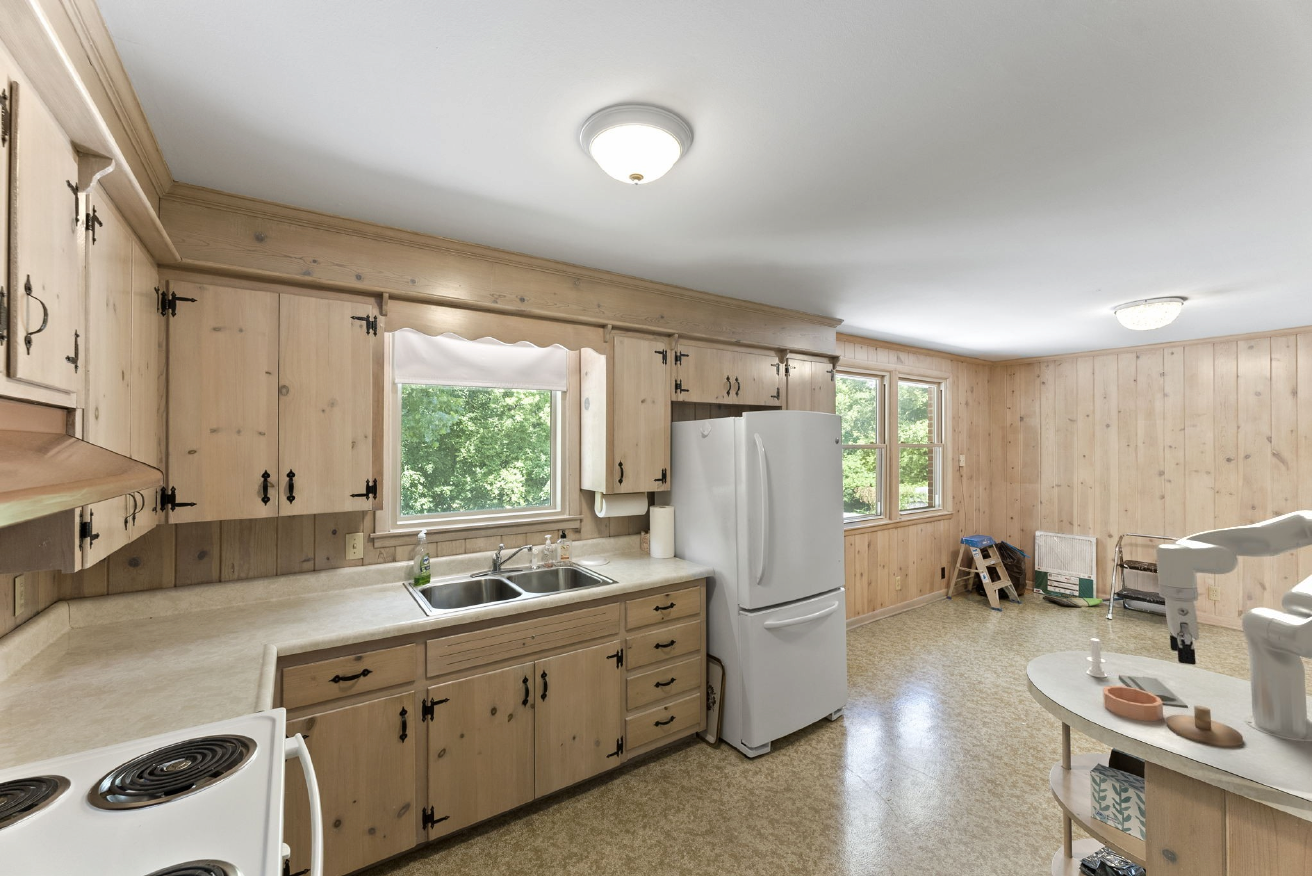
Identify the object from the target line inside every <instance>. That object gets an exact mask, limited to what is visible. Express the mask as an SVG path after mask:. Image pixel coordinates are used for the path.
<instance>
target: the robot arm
mask: <svg viewBox="0 0 1312 876" xmlns="http://www.w3.org/2000/svg"><path fill="white" fill-rule="evenodd" d="M1309 546H1312V510H1311V509H1307V510H1305V509H1304V510H1296V511H1293V512H1290V513H1286V514H1282V515H1280V516H1277V517H1274V518H1271V519H1267V520H1264V521H1260V522H1257V523H1253V524H1249V525H1244V526H1243V525H1242V526H1237V527H1235V526H1234V527H1228V528H1221V529H1214V530H1207V531H1203V532H1199V533H1195V534H1192V535H1190V536H1186V537H1183V538H1181V539H1180V538H1179V539H1178V540H1176V541H1175V542H1174V543H1167V544H1166V543H1163V544H1160V545H1158V546H1157V547H1156V548H1155V554H1156V566H1157V567H1156V568H1157V570H1156V571H1157V580H1158V582H1157V583H1158V594H1159V595H1158V596H1159V597H1161V598H1163V599H1164V602H1165V603H1164V604H1165V614H1166V615H1165V616H1166V624H1167V628H1168V631H1169V641H1170V642H1169V645H1170V650H1171V651H1173V652H1177V661H1178V663H1180V664H1185V665H1186V664H1187V665H1196V664H1197V662H1196V650H1195V649H1196V648H1195V645H1194V640H1195V641H1199V639H1200V635H1199V627H1198V626H1199V625H1198V616H1197V610H1196V605H1195V602H1196V601H1197V602H1198V600H1199V593H1198V591H1199V590H1198V579H1197V578H1198V576H1197V574H1210V575H1225V574H1229V573H1232V572H1234V571H1235V570H1236V569H1237V567H1238V565H1239V558H1238V557H1249V558H1250V557H1251V558H1260V557H1261V558H1262V557H1264V558H1265V557H1275V556H1278V555H1281V554H1285V553H1288V552H1291V551H1295V550H1298V549H1301V548H1304V547H1309ZM1281 606H1282V607H1283V609H1284V610H1285V611H1283V610H1279V609H1276V608H1271V607H1254V608H1252V609H1249V610H1248V611H1246V612H1245V613H1244V615H1243V617H1242V619H1241V624H1242V625H1241V627H1242V630H1243V634H1244V637H1245V640H1246V643H1247V647H1248V648H1247V649H1248V657H1249V673H1250V674H1249V675H1250V693H1251V709H1252V711H1251V713H1252V716H1251V715H1250V716H1247V717H1245V718H1244V721H1243V722H1244V723H1245V724H1246V725H1247V726H1248V727H1250V728H1252V729H1254V730H1256V731H1258V732H1261V733H1263V734H1267V735H1269V736H1273V737H1277V738H1281V739H1283V740H1284V739H1285V740H1290V741H1296V742H1312V721H1311V720H1309V718H1308V708H1307V706H1308V705H1307V693H1306V692H1307V691H1306V672H1305V667H1304V666H1305V665H1304V662H1303V659H1302V658H1306V659H1309V660H1312V573H1311V574H1310V575H1308V576H1307V577H1305V578H1304V579H1303V580H1301V581H1300V582H1299V583H1297V584H1296V585H1294V586H1293V587H1291V588H1290V589H1289V590H1288V591H1286V592H1285V593H1284V594H1283V596H1282V598H1281ZM1301 657H1302V658H1301Z"/></svg>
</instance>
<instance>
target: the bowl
mask: <svg viewBox="0 0 1312 876" xmlns="http://www.w3.org/2000/svg"><path fill="white" fill-rule="evenodd" d="M1102 698H1103V699H1102V702H1103V706H1104V708H1106V709H1107V710H1108V711H1110V712H1112V713H1114V714H1116V715H1118V716H1121V717H1125V718H1128V719H1132V720H1137V721H1144V722H1158V721H1160V720H1161V719H1164V705H1163V703H1162V701H1161V699H1160V698H1159V697H1157V696H1155V695H1153V694H1151V693H1149V692H1146V691H1142V690H1139V689H1136V688H1130V687H1126V686H1125V685H1124V686H1123V685H1108V686H1105V687H1103V688H1102Z"/></svg>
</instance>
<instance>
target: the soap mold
mask: <svg viewBox="0 0 1312 876" xmlns="http://www.w3.org/2000/svg"><path fill="white" fill-rule="evenodd" d="M1118 680H1119V681H1120V682H1121V683H1122V684H1123V685H1124V687H1130V688H1136V689H1139V690H1142V691H1146V692H1149V693H1151V694H1153V695H1155V696H1157V697H1159V698H1160V699H1161V701H1162V703H1163V706H1170V707H1180V708H1189V707H1188V704H1186V703H1185V702H1184V701H1183V700H1181V698H1179V697H1178V695H1176V694H1175V693H1174V692H1173V691H1172V690H1170V689H1169V688H1168V687H1167V686H1166V685H1165V684H1163V683H1162V682H1161V680H1159V679H1158V678H1155V677H1149V676H1132V675H1122V674H1119V675H1118Z"/></svg>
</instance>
